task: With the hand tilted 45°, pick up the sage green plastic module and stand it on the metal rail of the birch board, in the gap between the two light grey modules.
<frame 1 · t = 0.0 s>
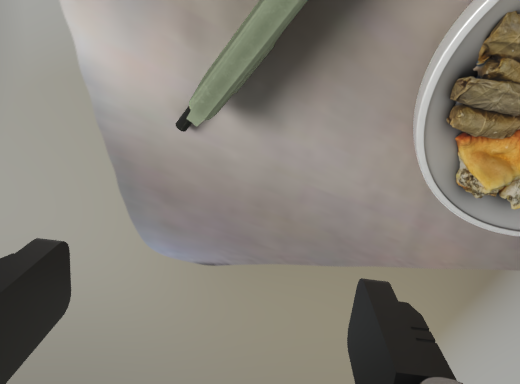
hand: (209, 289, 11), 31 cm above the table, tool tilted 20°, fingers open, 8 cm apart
handheld radio: (252, 29, 38), on the table
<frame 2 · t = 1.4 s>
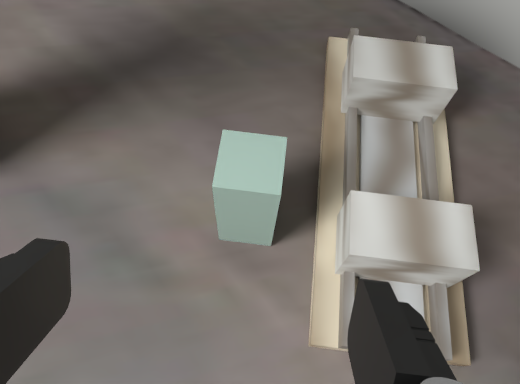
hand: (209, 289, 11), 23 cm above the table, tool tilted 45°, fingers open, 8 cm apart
rail board: (382, 176, 39), on the table
sage module: (248, 218, 37), on the table
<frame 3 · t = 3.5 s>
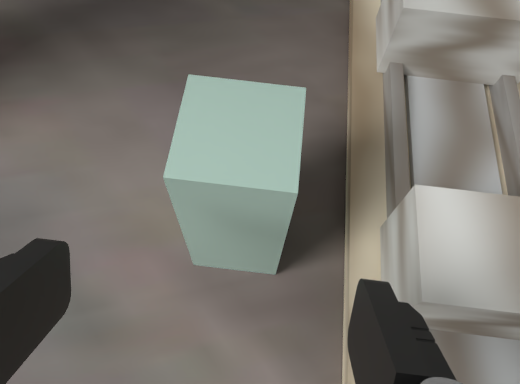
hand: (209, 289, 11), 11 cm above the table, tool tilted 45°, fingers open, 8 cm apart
rail board: (441, 165, 26), on the table
sage module: (239, 231, 24), on the table
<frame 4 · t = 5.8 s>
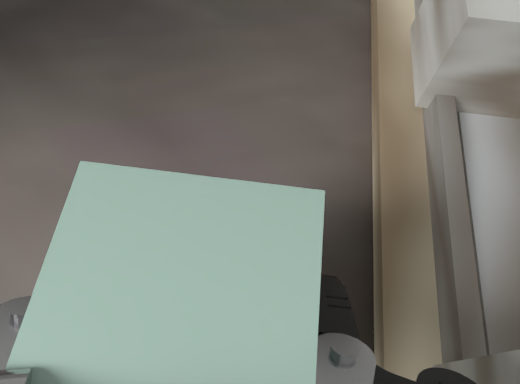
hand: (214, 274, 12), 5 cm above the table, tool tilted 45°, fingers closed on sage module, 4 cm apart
rail board: (511, 244, 18), on the table
sage module: (213, 358, 15), on the table, touching gripper
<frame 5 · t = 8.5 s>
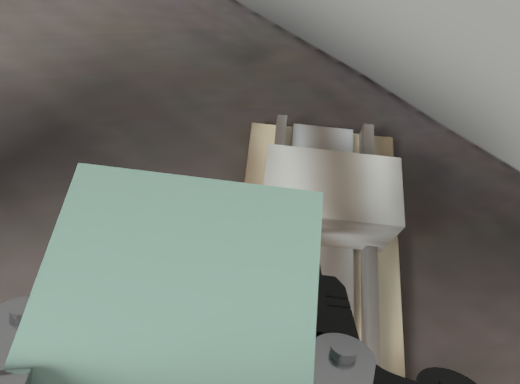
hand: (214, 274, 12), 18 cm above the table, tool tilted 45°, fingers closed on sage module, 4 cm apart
rail board: (312, 327, 29), on the table
sage module: (212, 359, 15), point 14 cm above the table, touching gripper
when the fingers open (7 cm above the table, at t = 11.2 s): sage module stays where it is, resting on rail board.
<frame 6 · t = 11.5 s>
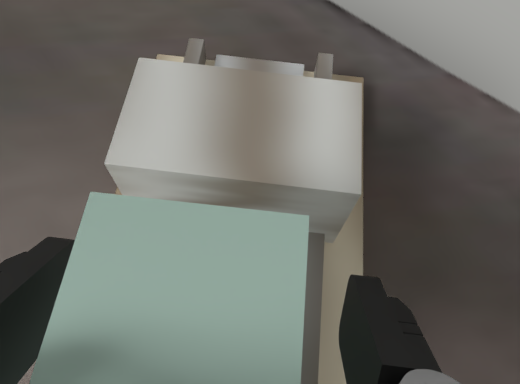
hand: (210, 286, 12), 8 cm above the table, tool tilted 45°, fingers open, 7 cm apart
rail board: (217, 363, 18), on the table
sage module: (212, 362, 16), point 2 cm above the table, touching rail board
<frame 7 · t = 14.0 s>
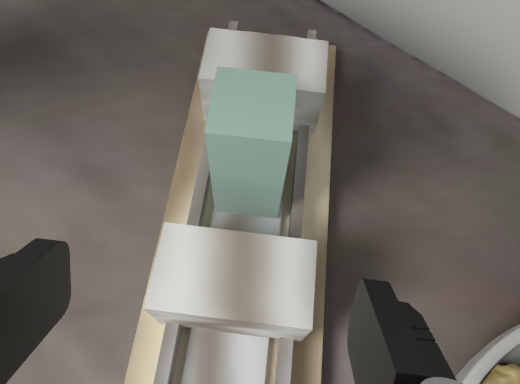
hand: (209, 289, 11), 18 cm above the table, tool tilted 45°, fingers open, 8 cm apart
rail board: (250, 197, 33), on the table
sage module: (249, 187, 31), point 2 cm above the table, touching rail board
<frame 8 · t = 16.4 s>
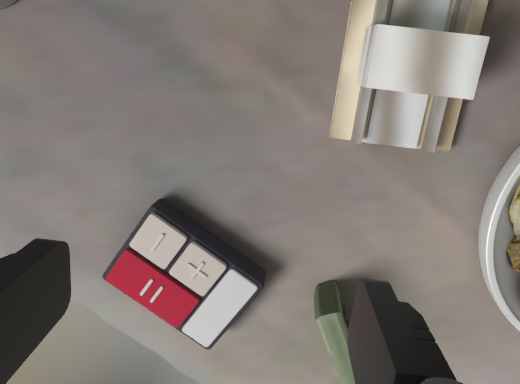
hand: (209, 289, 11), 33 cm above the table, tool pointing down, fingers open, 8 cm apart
handheld radio: (353, 363, 52), on the table
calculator: (188, 266, 49), on the table
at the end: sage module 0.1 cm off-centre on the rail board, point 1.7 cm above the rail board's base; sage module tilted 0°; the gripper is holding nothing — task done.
